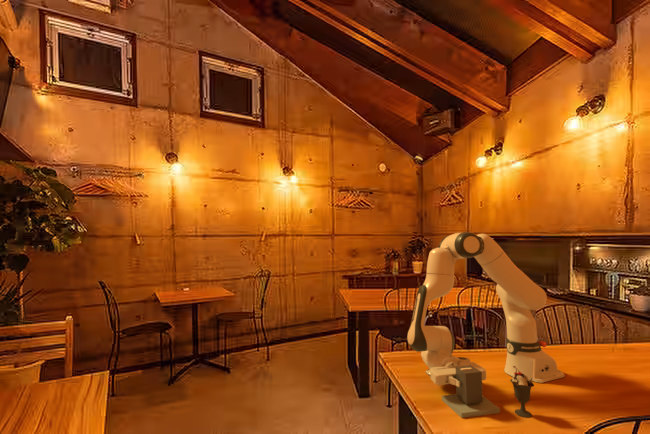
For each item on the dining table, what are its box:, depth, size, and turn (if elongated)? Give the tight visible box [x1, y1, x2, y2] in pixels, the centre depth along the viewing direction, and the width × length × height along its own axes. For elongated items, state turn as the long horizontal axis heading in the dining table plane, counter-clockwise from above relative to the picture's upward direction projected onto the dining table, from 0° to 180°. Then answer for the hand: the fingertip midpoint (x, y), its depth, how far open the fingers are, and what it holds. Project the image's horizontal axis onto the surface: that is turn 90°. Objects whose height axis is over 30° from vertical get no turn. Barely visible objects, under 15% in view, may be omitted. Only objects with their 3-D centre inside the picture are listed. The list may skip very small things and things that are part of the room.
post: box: [441, 393, 501, 419], centre depth 115 cm, size 14×12×8 cm
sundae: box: [509, 366, 535, 419], centre depth 110 cm, size 7×7×15 cm
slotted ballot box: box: [455, 365, 484, 404], centre depth 116 cm, size 6×6×10 cm
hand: (470, 383), depth 115 cm, fingers closed on slotted ballot box, 6 cm apart
